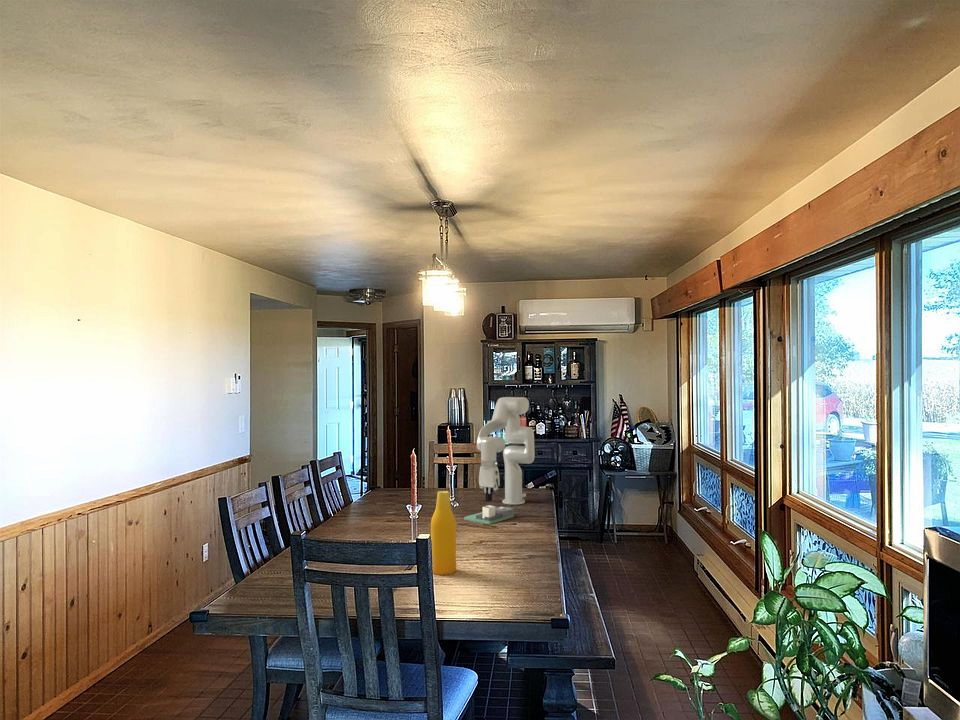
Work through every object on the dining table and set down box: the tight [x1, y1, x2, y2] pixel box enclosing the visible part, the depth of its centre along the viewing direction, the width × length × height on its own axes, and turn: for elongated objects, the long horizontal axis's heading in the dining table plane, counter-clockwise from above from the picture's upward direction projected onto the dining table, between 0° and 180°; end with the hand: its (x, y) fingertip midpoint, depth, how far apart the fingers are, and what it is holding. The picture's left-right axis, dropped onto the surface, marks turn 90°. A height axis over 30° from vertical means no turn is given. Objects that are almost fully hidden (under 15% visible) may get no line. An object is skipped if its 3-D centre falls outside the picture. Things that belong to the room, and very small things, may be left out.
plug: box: [482, 504, 496, 517], centre depth 314 cm, size 5×4×5 cm
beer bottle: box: [430, 490, 457, 576], centre depth 234 cm, size 9×9×29 cm
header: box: [476, 513, 502, 521], centre depth 314 cm, size 10×9×2 cm
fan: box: [495, 506, 515, 517], centre depth 321 cm, size 8×8×4 cm
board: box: [463, 511, 515, 525], centre depth 319 cm, size 20×16×1 cm
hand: (488, 501), depth 314 cm, fingers closed
